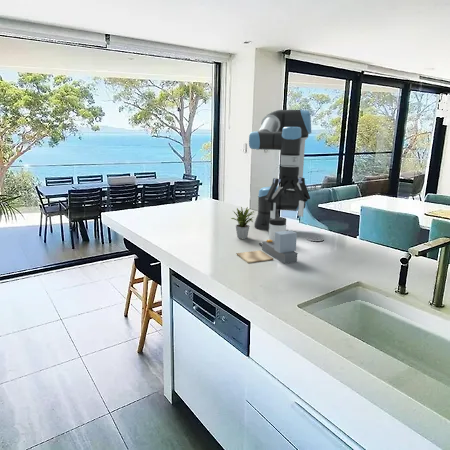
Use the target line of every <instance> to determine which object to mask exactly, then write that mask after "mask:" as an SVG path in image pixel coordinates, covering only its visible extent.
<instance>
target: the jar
mask: <svg viewBox="0 0 450 450" xmlns="http://www.w3.org/2000/svg"><path fill="white" fill-rule="evenodd" d="M280 231H287V218H286V217H282V216H279V217H275V219H272V218H270V223H269V230H268V240H272V241H275V232H280Z"/></svg>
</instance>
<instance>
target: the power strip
mask: <svg viewBox="0 0 450 450" xmlns="http://www.w3.org/2000/svg"><path fill="white" fill-rule="evenodd" d="M258 245H260V246H261V251H262V252H264V253H265V254H267V255H268V256H270V257H272V258H273V259H276V260H277V261H279V262H280V263H283V265H284V264H285V265H287V264H292V263H293V264H294V263H295V264H296V263H298V253H297V251H292V252H285V253H279V252H277V251H275V250H274V246H275V241H272V240H269V239H266V240H265V241H262V242H259V243H258Z"/></svg>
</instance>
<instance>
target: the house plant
mask: <svg viewBox="0 0 450 450" xmlns="http://www.w3.org/2000/svg"><path fill="white" fill-rule="evenodd" d="M240 209H241V210H239V209H238V207H236V211H237V212H235V211H234V210H232V212H233V213H234V215H235V216H236V218H235V217H230V219H231V220H234V221H237V223H238V224H236V225H235V229H236V230H235V231H236V237H237V238H238V239H240V238H243V239H245V238H246V239H247V238H248V236H249V230H250V224H249V225H248V223H249V222H252V223H254V219H253V218H255V217H254V216H253V215H254V214H256V211H255V210H253V211H251V212H249V210H250V208H248V206H247V207H246V208H245V210H244V209H243V207H242V206H240ZM250 216H253V217H251V218H250ZM243 239H242V240H243Z"/></svg>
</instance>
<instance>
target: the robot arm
mask: <svg viewBox="0 0 450 450" xmlns="http://www.w3.org/2000/svg"><path fill="white" fill-rule="evenodd" d="M311 116H312V115H311V112H310V111H309V110H307V109H278V110H274V111H271V112H270V113H267V114H266V115H264V117H263V118H262V120H261V126H260V128H259V129H258V130H256V131H251V132H249V136H248V145H249V148H250V149H251V150H257V151H259V150H264V151H265V150H266V151H267V150H268V151H270V150H271V151H273V150H274V151H281V154H280V168H279V169H280V170H279V175H280V176H279V178H276V177H273V178H272V184H271V185H270V186H264V187H261V188H260V189H259V190H258V196H257V197H258V202H257V203H258V205H257V215H256V219H255V221H254V222H253V223H254V225H253V226H254V228H255V229H257V230H258V229H259V230H263V231H269V223H270V218H272V219H275V217H280V215H279V211H292V212H297V213H298V214H297V216H298V217H301V218H303V217H304V212H305V211H304V209H305V208H306V202H308V200H310V199H311V196H310V193H309V191H308V190H309V189H307V185H306V180H305V177H304V164H305V161H304V160H305V150H306V149H305V148H306V147H305V146H306V140H307V139H308V138H309V135H310V134H312V120H311Z"/></svg>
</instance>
